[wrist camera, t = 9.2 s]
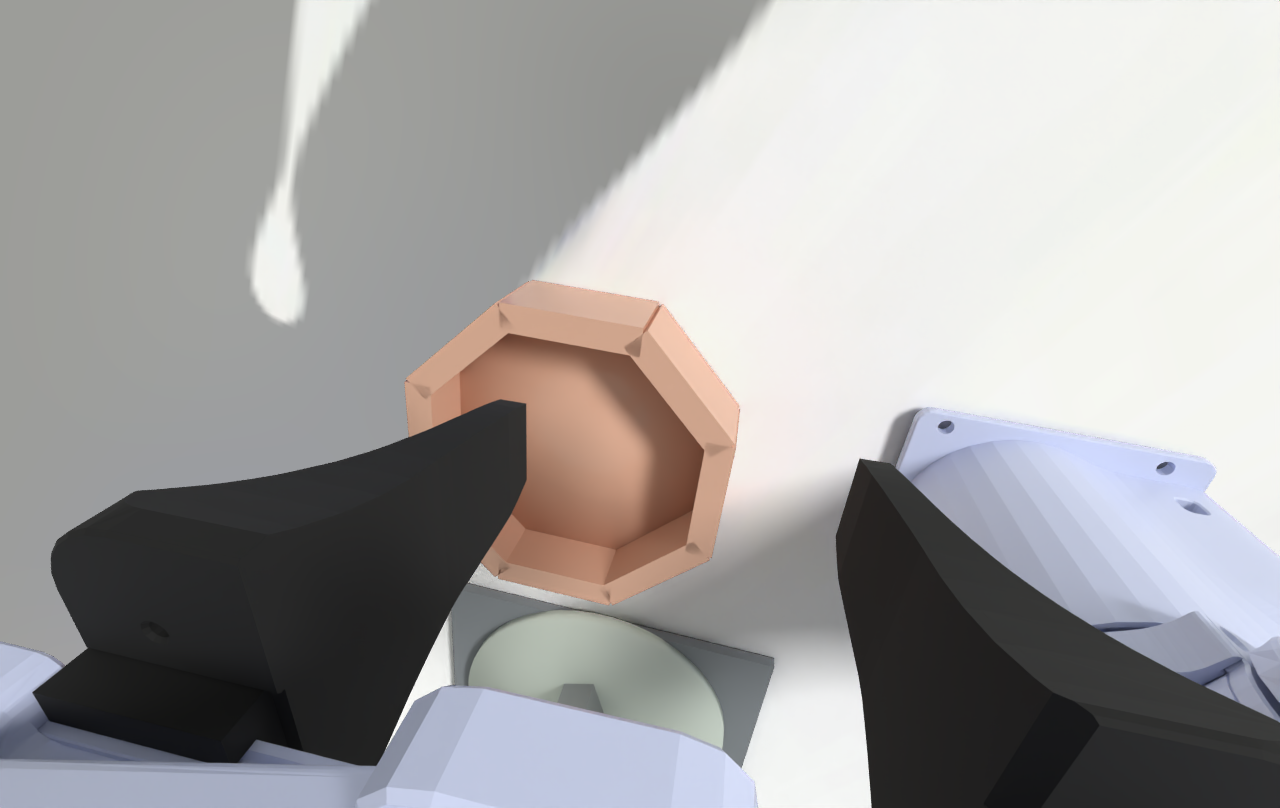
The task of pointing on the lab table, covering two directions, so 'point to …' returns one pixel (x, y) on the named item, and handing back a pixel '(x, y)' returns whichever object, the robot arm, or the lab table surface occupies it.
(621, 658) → the lid
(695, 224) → the lab table surface
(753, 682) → the mat
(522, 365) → the bowl
